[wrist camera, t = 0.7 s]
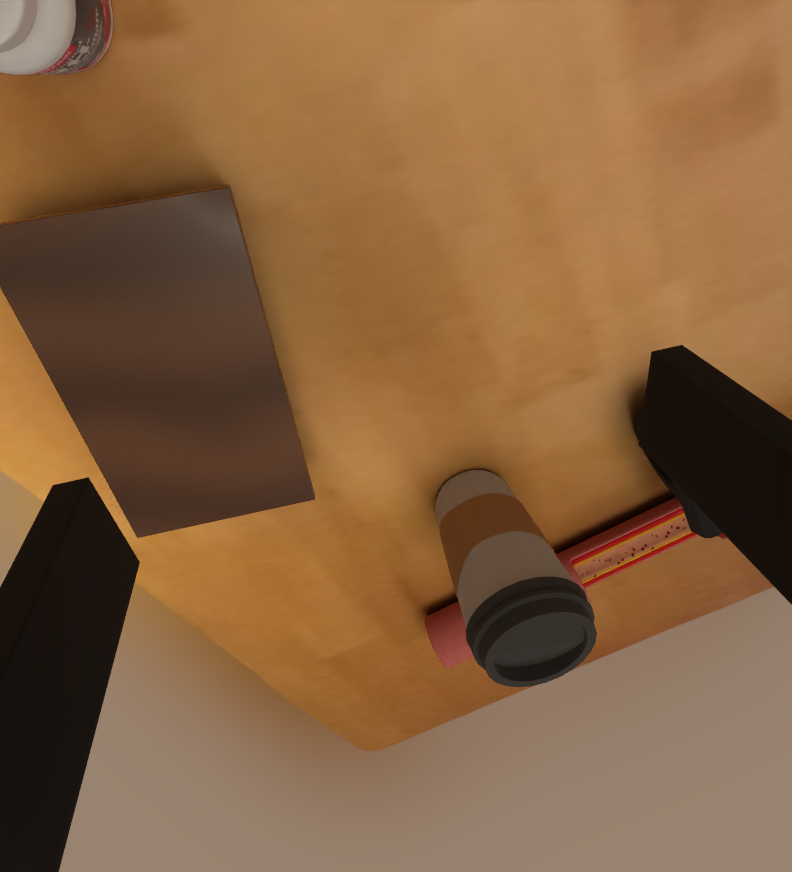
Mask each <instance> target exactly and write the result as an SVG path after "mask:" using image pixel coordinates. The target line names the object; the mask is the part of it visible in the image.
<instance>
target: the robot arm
mask: <svg viewBox="0 0 792 872" xmlns="http://www.w3.org/2000/svg"><path fill="white" fill-rule="evenodd" d="M639 446H640V447H641V448H642V449H643V450H644V451H645V452H646V453H647V454H648V455H649V456H650V457H651V458H652V459H653V461H654V462H655V463H656V464H657V465H658V466H659V467H660V468H661V469H662V470H663V471H664V472H665V473H666V474H667V475H668V476H669V477H670V478H671V479H672V480H673V481H674V482H675V483H676V485H677V486H678V487H679V488H680V489H681V490H682V491H683V492H684V493H685V494H686V495H687V496H688V497H689V498H690V499H691V500H692V501H693V502H694V503H695V504H696V505H697V506H698V507H699V508H700V510H701V511H702V512H703V513H704V514H705V515H706V516H707V517H708V518H709V519H710V520H711V521H712V522H713V523H714V524H715V525H716V526H717V527H718V528H719V529H720V530H721V531H722V532H723V533H724V535H725V536H726V537H727V538H728V539H729V540H730V541H731V542H732V543H733V544H734V545H735V546H736V547H737V548H738V549H739V550H740V551H741V552H742V553H743V554H744V555H745V556H746V557H747V559H748V560H749V561H750V562H751V563H752V564H753V565H754V566H755V567H756V568H757V569H758V570H759V571H760V572H761V573H762V574H763V575H764V576H765V577H766V578H767V579H768V580H769V581H770V582H771V584H772V585H773V586H774V587H775V588H776V589H777V590H778V591H779V592H780V593H781V594H782V595H783V596H784V597H785V598H786V599H787V600H788V601H789V602H790V603H791V604H792V421H791V420H790V419H789V418H787V417H786V416H784V415H783V414H781V413H780V412H778V411H777V410H775V409H774V408H773V407H771V406H770V405H768V404H767V403H765V402H764V401H762V400H761V399H759V398H758V397H757V396H755V395H754V394H752V393H751V392H749V391H748V390H746V389H745V388H744V387H742V386H741V385H739V384H738V383H736V382H735V381H733V380H732V379H730V378H729V377H728V376H726V375H725V374H723V373H722V372H720V371H719V370H717V369H716V368H715V367H713V366H712V365H710V364H709V363H707V362H706V361H704V360H703V359H701V358H700V357H699V356H697V355H696V354H694V353H693V352H691V351H690V350H688V349H687V348H685V347H684V346H683V345H680V346H676V347H671V348H667V349H662V350H658V351H653V352H651V359H650V367H649V374H648V381H647V388H646V395H645V402H644V409H643V416H642V423H641V430H640V437H639ZM139 563H140V562H139V560H138V559H137V557H136V555H135V554H134V552H133V550H132V549H131V547H130V545H129V544H128V542H127V540H126V539H125V537H124V535H123V534H122V532H121V531H120V529H119V527H118V526H117V524H116V522H115V521H114V519H113V517H112V516H111V514H110V512H109V511H108V509H107V507H106V506H105V504H104V502H103V501H102V499H101V497H100V496H99V494H98V493H97V491H96V489H95V488H94V486H93V484H92V483H91V481H90V479H89V478H84V479H79V480H75V481H70V482H66V483H61V484H57V485H53V486H52V488H51V490H50V492H49V494H48V496H47V498H46V500H45V502H44V504H43V506H42V507H41V510H40V511H39V513H38V515H37V517H36V519H35V521H34V523H33V525H32V527H31V529H30V531H29V533H28V535H27V537H26V539H25V541H24V542H23V544H22V546H21V548H20V550H19V552H18V554H17V556H16V558H15V560H14V562H13V564H12V566H11V568H10V570H9V572H8V574H7V575H6V577H5V579H4V581H3V583H2V585H1V587H0V872H59V868H60V864H61V860H62V856H63V852H64V849H65V845H66V841H67V837H68V833H69V829H70V825H71V822H72V818H73V814H74V811H75V807H76V803H77V799H78V795H79V791H80V788H81V784H82V780H83V776H84V773H85V769H86V765H87V761H88V757H89V754H90V749H91V746H92V742H93V738H94V734H95V730H96V727H97V723H98V719H99V715H100V712H101V707H102V704H103V700H104V696H105V693H106V688H107V685H108V681H109V677H110V674H111V670H112V666H113V662H114V658H115V654H116V651H117V647H118V643H119V639H120V635H121V631H122V628H123V624H124V620H125V616H126V612H127V609H128V605H129V601H130V597H131V593H132V590H133V586H134V582H135V578H136V574H137V571H138V567H139Z"/></svg>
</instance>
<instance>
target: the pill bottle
mask: <svg viewBox="0 0 792 872" xmlns="http://www.w3.org/2000/svg"><path fill="white" fill-rule="evenodd" d="M112 33H113V13H112V6H111V2H110V0H0V73H5V74H10V75H34V74H40V75H41V74H72V73H78V72H82V71H84V70H87V69H89V68H91V67H92V66H94V65H95V64H96V63H98V62H99V61H100V60H101V58H102V57H103V56H104V54H105V53H106V51H107V49H108V47H109V45H110V41H111V38H112Z"/></svg>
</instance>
